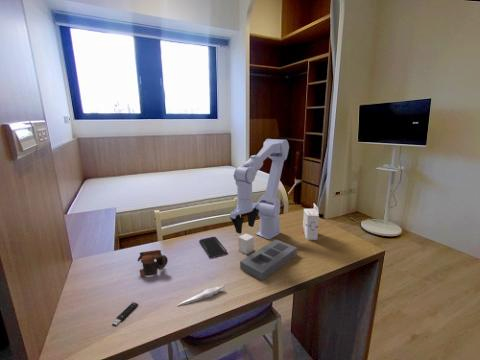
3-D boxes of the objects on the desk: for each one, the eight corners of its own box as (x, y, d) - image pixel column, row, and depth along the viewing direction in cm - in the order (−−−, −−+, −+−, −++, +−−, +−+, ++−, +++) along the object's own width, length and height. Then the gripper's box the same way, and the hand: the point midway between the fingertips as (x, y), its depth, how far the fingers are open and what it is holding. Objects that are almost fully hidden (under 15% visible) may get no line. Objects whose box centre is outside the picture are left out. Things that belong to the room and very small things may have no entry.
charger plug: (245, 246, 103) (245, 233, 102) (253, 249, 100) (253, 236, 99) (238, 250, 100) (238, 237, 99) (246, 254, 97) (246, 240, 96)
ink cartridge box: (301, 231, 116) (303, 202, 112) (312, 231, 116) (314, 202, 112) (306, 240, 108) (308, 208, 104) (317, 240, 108) (320, 208, 104)
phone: (215, 236, 111) (227, 251, 97) (215, 238, 111) (227, 254, 98) (198, 239, 107) (208, 256, 94) (198, 242, 108) (209, 259, 94)
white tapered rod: (222, 287, 78) (222, 282, 78) (226, 292, 76) (225, 287, 75) (176, 305, 72) (175, 299, 71) (178, 311, 70) (177, 306, 69)
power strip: (275, 245, 103) (276, 239, 102) (296, 254, 96) (296, 247, 96) (240, 268, 88) (240, 261, 87) (261, 280, 81) (262, 272, 80)
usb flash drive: (117, 327, 64) (116, 324, 64) (111, 325, 65) (111, 322, 64) (138, 306, 71) (138, 303, 71) (133, 304, 72) (132, 301, 72)
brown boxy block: (131, 278, 84) (131, 253, 86) (149, 274, 93) (148, 251, 95) (161, 274, 81) (160, 249, 83) (176, 270, 90) (175, 247, 92)
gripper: (248, 191, 102) (248, 220, 105) (224, 199, 91) (225, 232, 95) (262, 194, 97) (261, 225, 101) (238, 204, 87) (238, 238, 90)
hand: (245, 229), depth 98 cm, fingers open, 7 cm apart
